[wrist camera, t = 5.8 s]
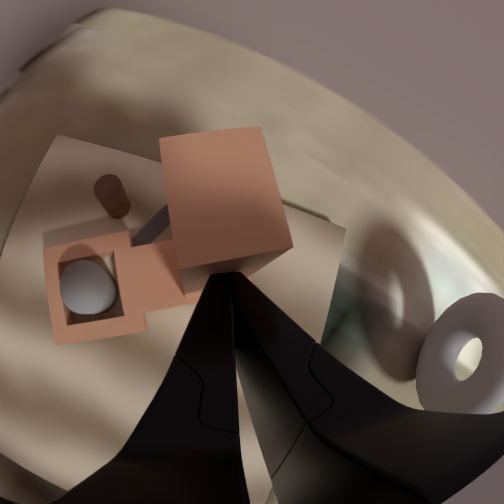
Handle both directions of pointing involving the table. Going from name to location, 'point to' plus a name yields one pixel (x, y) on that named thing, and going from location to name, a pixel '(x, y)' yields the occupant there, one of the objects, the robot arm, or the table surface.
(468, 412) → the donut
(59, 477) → the board
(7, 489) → the table surface
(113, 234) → the pink l-shaped piece
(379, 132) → the table surface
